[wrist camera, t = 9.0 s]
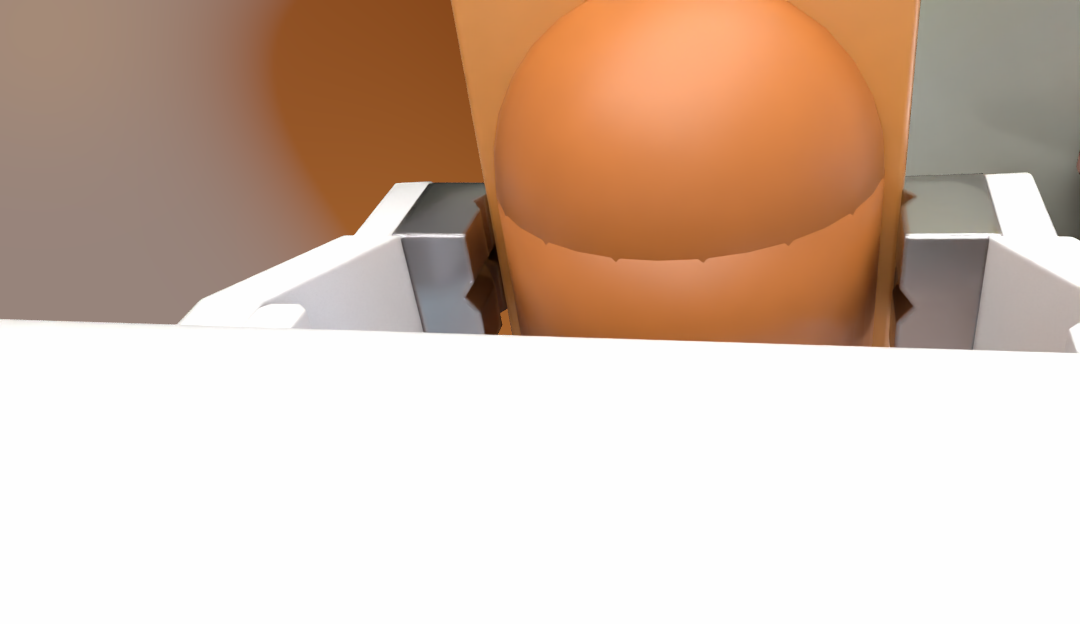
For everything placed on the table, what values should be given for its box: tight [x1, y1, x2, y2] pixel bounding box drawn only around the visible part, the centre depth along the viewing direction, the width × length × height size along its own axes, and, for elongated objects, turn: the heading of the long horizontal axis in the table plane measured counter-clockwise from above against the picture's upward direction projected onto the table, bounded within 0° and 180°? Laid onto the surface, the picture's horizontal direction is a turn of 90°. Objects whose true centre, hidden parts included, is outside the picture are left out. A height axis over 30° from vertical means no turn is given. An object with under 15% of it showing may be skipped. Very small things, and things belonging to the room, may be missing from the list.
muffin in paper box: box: [451, 0, 921, 347], centre depth 14 cm, size 7×5×10 cm
